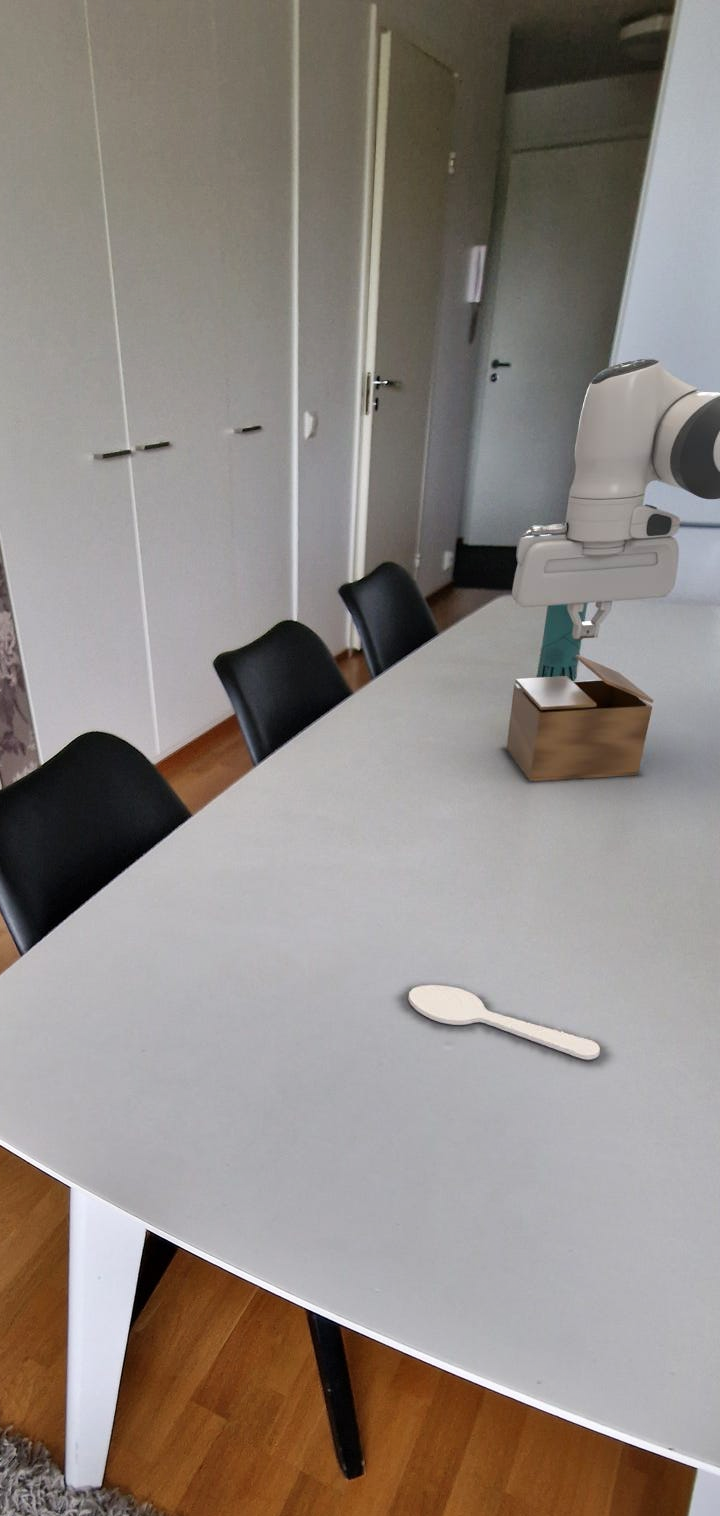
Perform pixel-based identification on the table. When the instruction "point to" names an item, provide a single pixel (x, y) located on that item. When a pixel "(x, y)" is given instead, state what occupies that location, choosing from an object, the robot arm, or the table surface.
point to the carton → (576, 729)
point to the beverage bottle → (559, 644)
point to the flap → (613, 678)
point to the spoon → (492, 1019)
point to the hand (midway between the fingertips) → (584, 637)
